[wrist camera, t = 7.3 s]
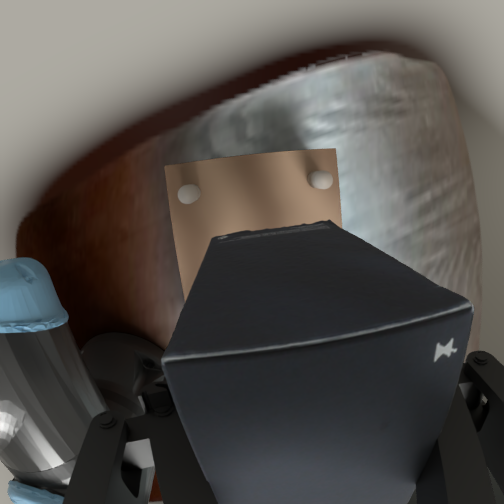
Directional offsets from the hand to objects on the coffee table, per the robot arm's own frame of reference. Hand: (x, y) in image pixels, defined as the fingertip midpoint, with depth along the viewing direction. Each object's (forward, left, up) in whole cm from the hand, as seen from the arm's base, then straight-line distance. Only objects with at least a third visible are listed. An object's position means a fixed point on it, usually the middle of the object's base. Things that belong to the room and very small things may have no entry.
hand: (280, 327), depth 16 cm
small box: (0, 0, 0) cm, 0 cm away
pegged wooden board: (0, 0, -16) cm, 16 cm away
